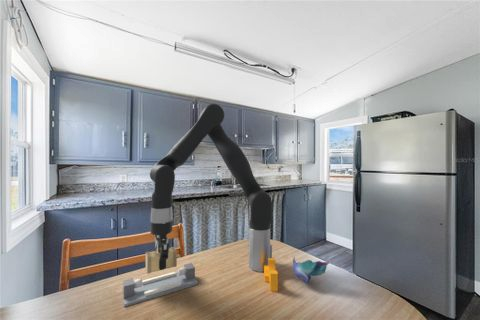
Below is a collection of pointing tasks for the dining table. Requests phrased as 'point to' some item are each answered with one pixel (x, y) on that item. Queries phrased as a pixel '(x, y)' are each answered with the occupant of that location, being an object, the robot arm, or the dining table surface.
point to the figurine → (309, 269)
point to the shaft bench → (158, 285)
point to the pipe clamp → (271, 274)
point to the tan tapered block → (153, 260)
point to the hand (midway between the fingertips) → (161, 265)
